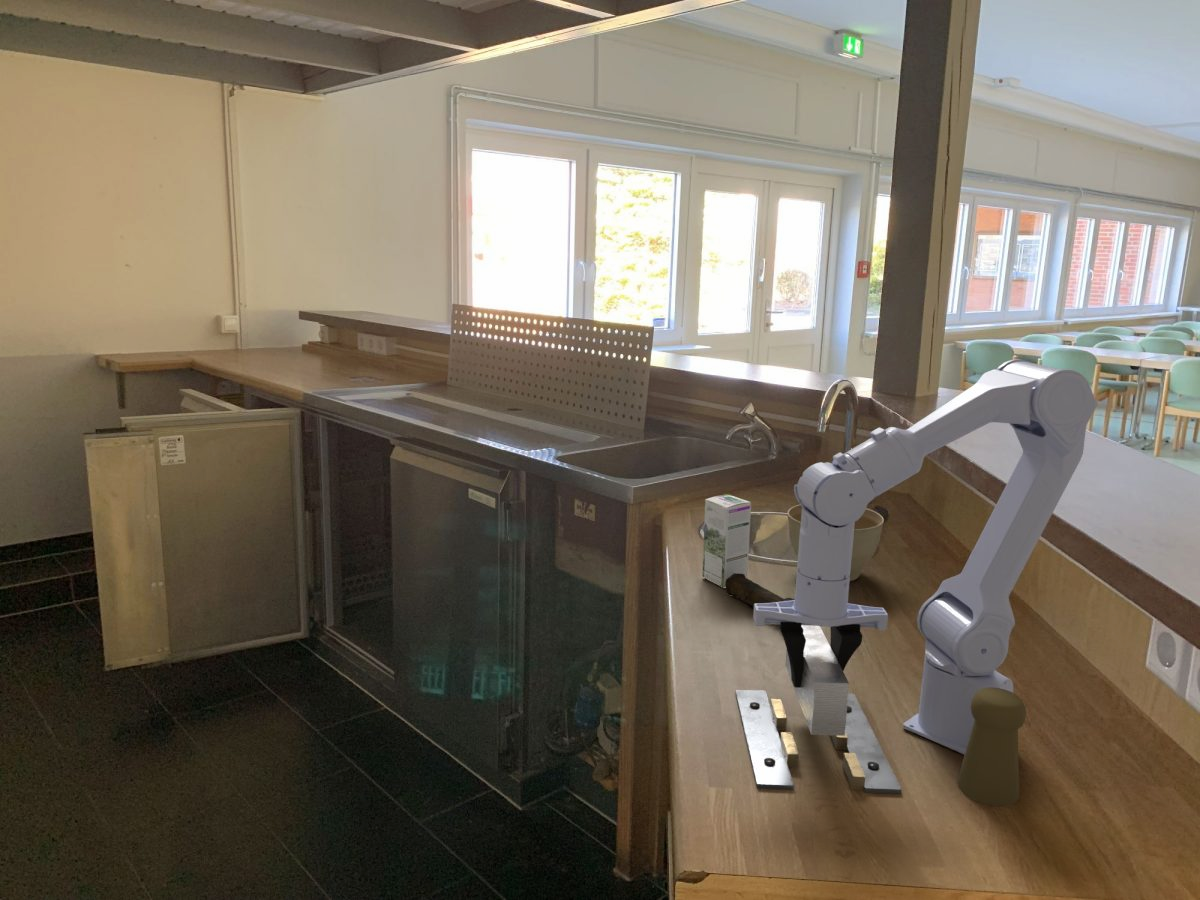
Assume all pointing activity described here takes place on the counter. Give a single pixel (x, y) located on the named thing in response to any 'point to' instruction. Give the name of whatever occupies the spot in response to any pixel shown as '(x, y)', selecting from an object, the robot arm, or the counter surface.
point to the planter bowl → (863, 540)
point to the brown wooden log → (750, 591)
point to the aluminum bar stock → (821, 685)
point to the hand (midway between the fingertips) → (814, 684)
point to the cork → (993, 748)
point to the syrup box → (726, 538)
